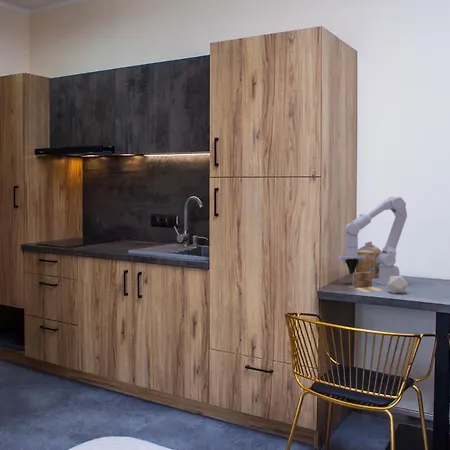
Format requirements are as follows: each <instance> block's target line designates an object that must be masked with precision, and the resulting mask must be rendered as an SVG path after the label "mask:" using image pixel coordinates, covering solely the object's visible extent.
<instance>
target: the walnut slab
mask: <svg viewBox="0 0 450 450" xmlns="http://www.w3.org/2000/svg"><path fill="white" fill-rule="evenodd" d="M352 286H353V287H354V288H362V287H372V286H373V279H372V272H359V273H356V272H354V273H353V274H352ZM354 288H353V289H354Z"/></svg>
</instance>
